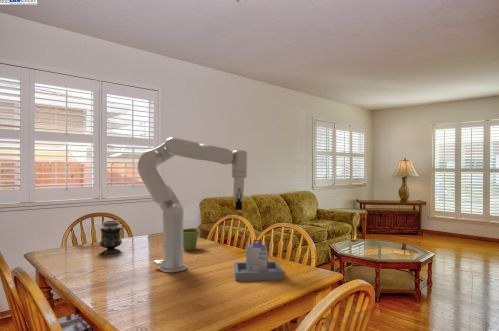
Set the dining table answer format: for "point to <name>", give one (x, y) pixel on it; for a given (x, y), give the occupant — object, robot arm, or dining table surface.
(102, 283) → the dining table surface
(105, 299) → the dining table surface
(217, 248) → the dining table surface
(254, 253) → the ink cartridge box
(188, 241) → the plant pot
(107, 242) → the apothecary jar
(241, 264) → the trough
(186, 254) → the dining table surface
